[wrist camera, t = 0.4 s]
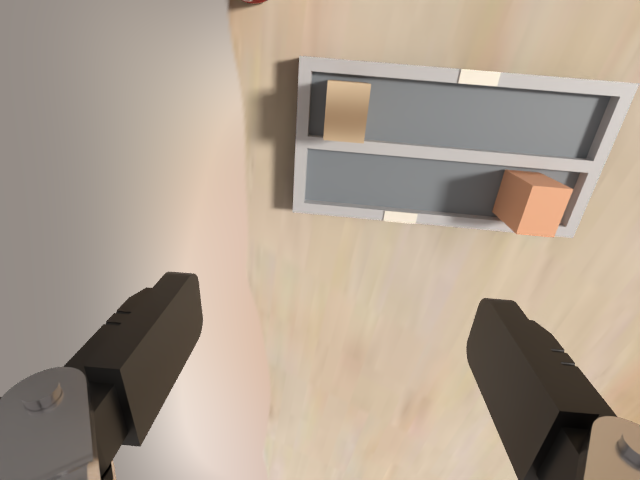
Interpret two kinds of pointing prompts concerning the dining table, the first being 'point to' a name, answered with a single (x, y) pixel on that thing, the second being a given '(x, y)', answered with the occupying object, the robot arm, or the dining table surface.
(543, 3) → the dining table surface
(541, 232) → the orange rectangular block
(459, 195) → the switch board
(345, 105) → the tan block
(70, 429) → the robot arm
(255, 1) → the soda can
